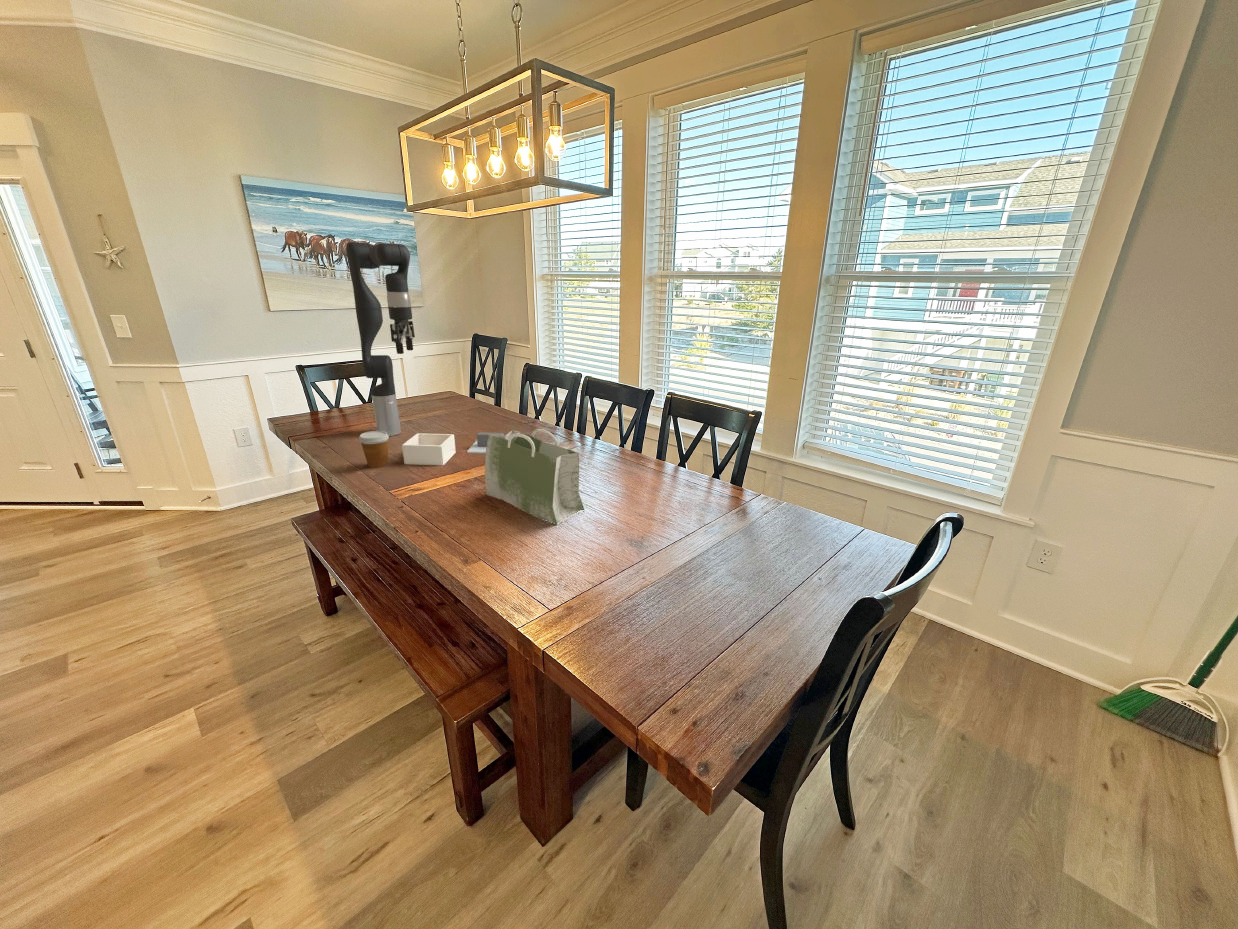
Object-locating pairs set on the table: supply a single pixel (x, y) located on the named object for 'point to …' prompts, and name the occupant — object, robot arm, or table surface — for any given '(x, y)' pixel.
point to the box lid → (481, 442)
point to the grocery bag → (533, 475)
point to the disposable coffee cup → (375, 448)
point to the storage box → (429, 449)
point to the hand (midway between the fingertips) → (405, 351)
